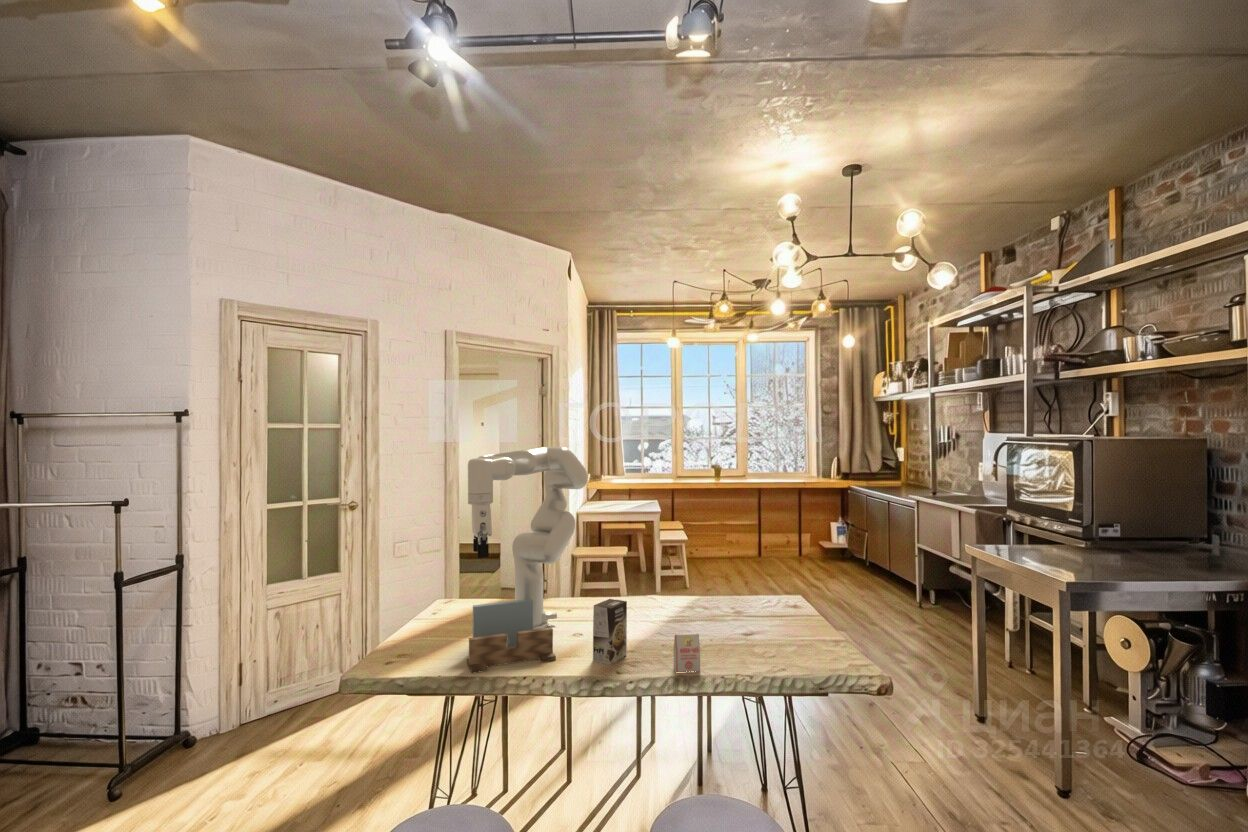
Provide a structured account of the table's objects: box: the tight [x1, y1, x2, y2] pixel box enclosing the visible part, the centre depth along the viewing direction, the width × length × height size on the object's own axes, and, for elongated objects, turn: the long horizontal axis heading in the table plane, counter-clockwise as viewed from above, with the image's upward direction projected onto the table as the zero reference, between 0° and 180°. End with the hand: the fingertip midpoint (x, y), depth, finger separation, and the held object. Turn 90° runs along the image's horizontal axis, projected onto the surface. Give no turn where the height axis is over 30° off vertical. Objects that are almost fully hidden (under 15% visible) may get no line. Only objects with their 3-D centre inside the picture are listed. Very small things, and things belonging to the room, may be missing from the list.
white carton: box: [673, 633, 701, 673], centre depth 170 cm, size 4×7×10 cm, turn 95°
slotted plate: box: [472, 599, 533, 647], centre depth 186 cm, size 18×2×14 cm, turn 114°
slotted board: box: [466, 626, 557, 674], centre depth 176 cm, size 24×8×8 cm, turn 114°
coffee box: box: [592, 598, 628, 666], centre depth 179 cm, size 9×6×16 cm
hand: (480, 554), depth 188 cm, fingers open, 9 cm apart
